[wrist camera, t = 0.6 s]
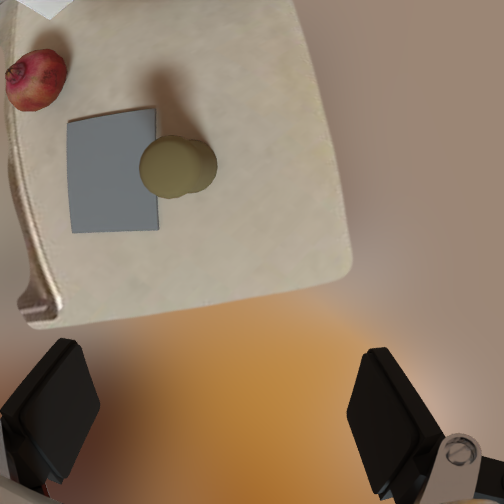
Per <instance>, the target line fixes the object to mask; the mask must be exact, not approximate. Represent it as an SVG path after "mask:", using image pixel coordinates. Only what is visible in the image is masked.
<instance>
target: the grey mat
mask: <svg viewBox="0 0 504 504" xmlns="http://www.w3.org/2000/svg"><path fill="white" fill-rule="evenodd" d="M155 140H156V109H146V110H139V111H131V112H125V113H118V114H112V115H106V116H101V117H96V118H90V119H85V120H81V121H76V122H72V123H67V179H68V196H69V208H70V219H71V228H72V233H91V232H118V231H150V230H159V220H158V202H157V196H156V195H155V194H153V193H151V192H150V191H149V190H148V189H147V188H146V187H145V186H144V184H143V182H142V180H141V178H140V173H139V164H140V158H141V156H142V154H143V152H144V150H145V149H146V148H147V147H148V146H149V145H150V144H151V143H152V142H153V141H155Z"/></svg>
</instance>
